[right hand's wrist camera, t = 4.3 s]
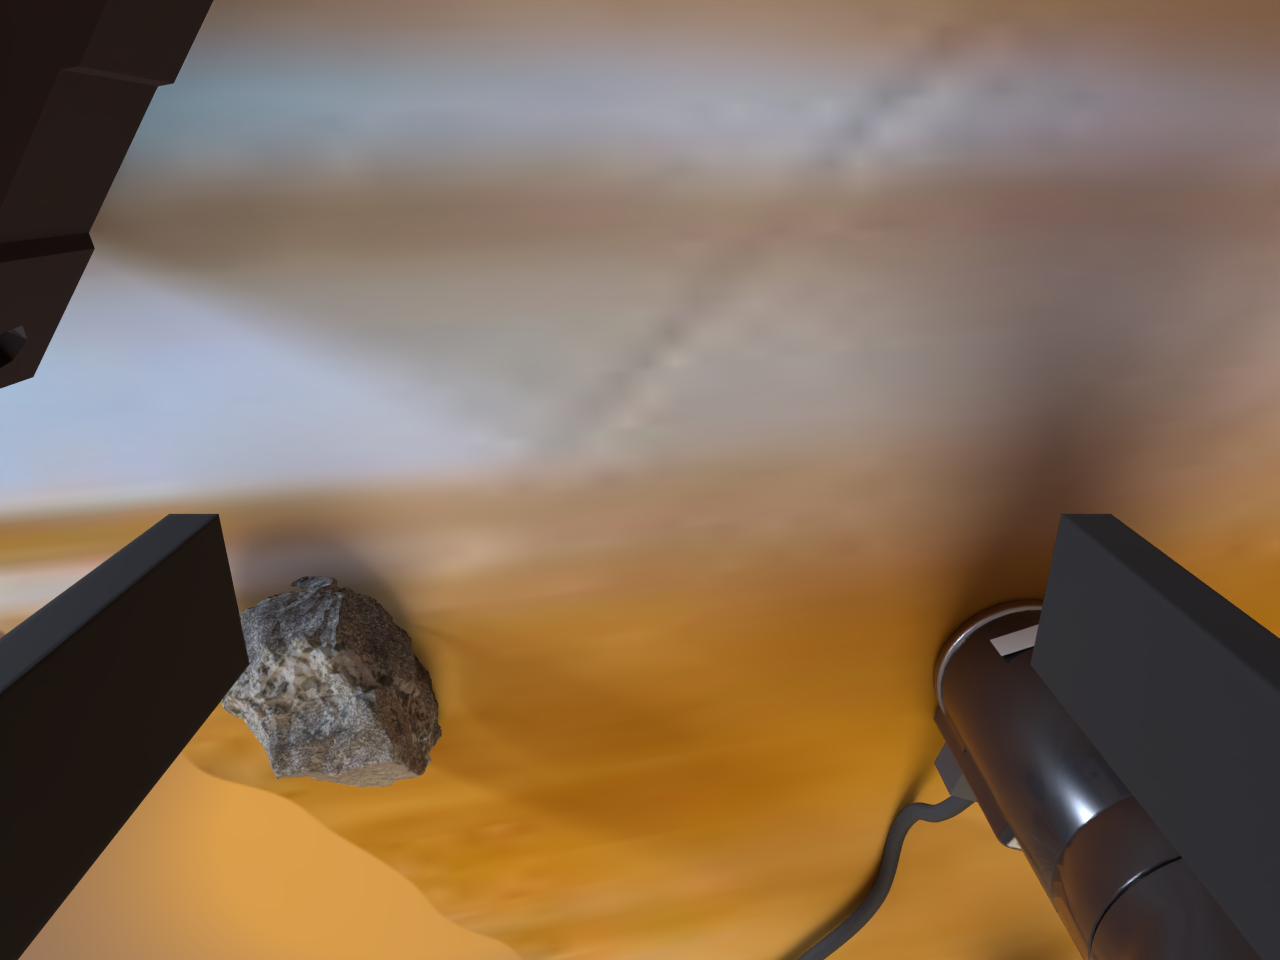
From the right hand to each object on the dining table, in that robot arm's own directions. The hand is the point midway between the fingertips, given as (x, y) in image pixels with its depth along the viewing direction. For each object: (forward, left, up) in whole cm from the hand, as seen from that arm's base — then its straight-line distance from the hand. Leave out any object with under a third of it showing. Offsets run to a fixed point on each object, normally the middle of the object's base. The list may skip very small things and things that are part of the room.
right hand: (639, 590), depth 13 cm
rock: (+20, -16, -28) cm, 38 cm away
